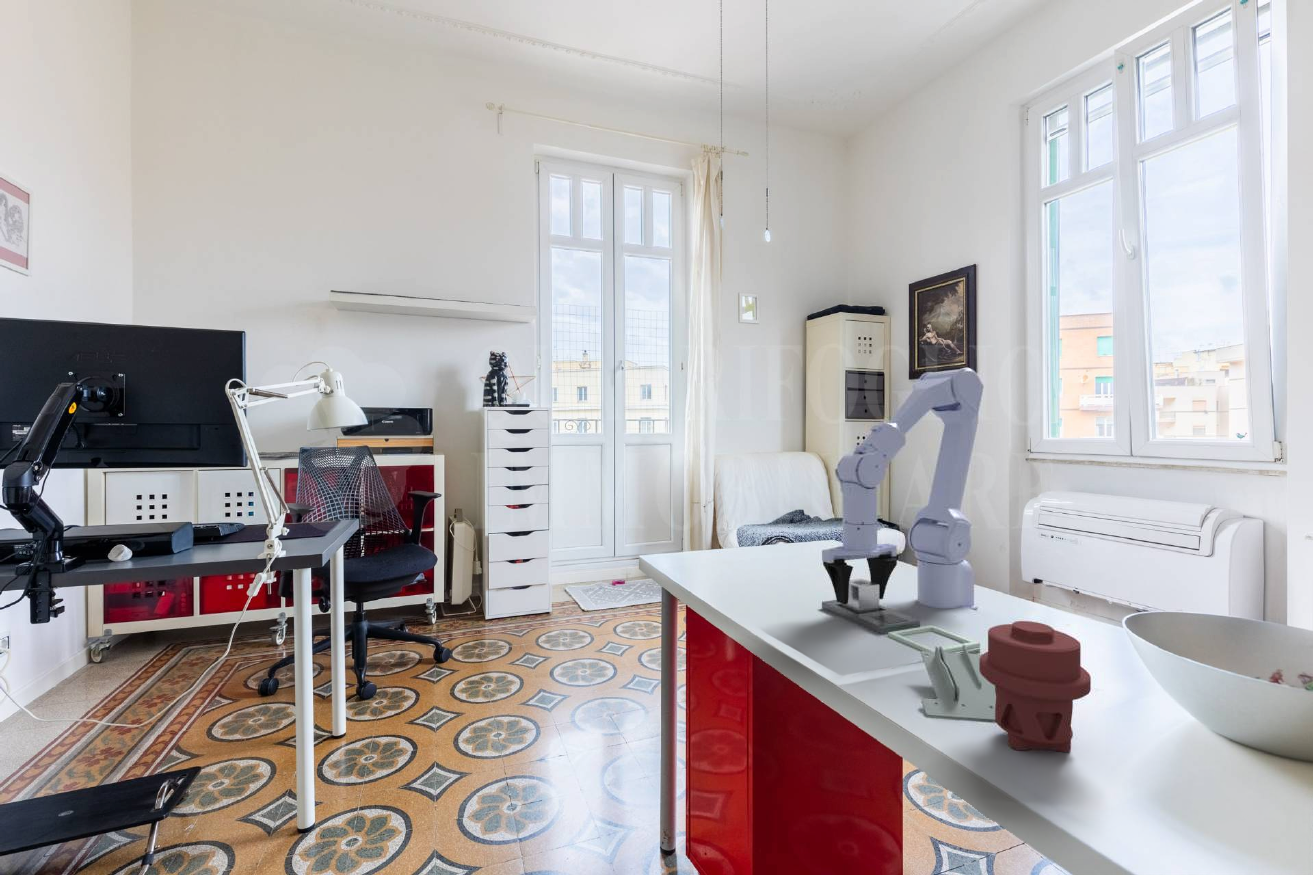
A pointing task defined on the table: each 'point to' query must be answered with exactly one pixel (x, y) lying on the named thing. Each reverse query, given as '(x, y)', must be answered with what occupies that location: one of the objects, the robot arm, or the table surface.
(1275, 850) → the table surface
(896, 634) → the tray
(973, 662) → the metal bracket
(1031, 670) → the mechanical component
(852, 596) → the cube with square inset
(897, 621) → the plate with square cutouts
